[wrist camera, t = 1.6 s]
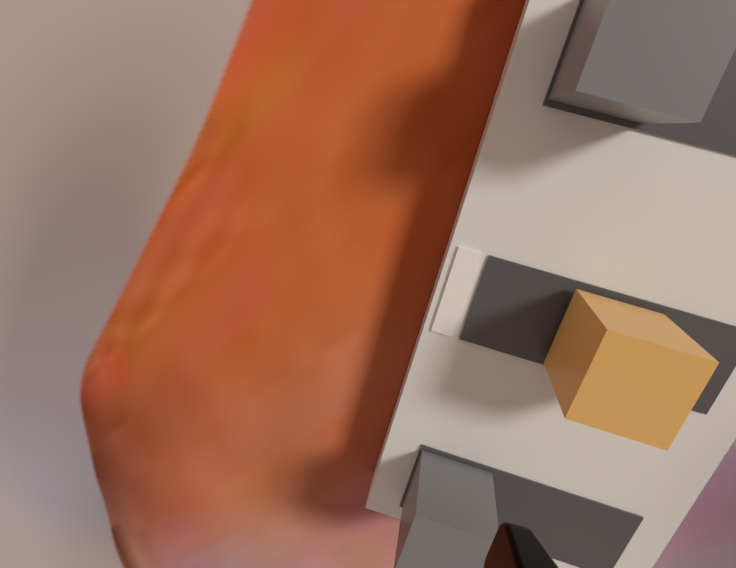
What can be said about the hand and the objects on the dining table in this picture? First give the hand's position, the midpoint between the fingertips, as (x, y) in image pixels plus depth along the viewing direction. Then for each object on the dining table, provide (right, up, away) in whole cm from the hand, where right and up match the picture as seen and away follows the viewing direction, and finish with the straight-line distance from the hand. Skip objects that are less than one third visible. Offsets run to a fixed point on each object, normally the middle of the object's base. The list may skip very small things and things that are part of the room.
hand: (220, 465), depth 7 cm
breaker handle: (+11, +1, +9) cm, 14 cm away
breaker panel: (+11, +2, +11) cm, 16 cm away
